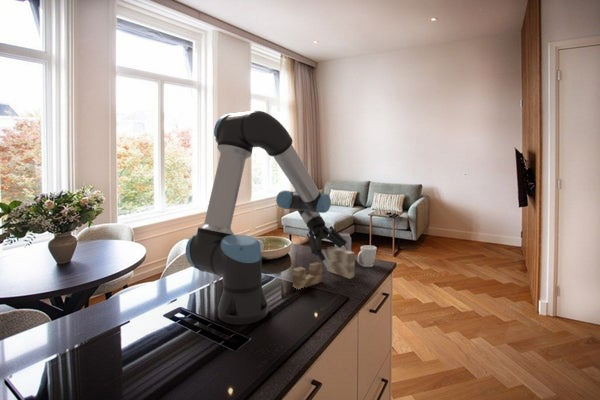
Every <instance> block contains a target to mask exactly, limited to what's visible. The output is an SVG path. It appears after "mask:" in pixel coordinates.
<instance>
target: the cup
mask: <svg viewBox="0 0 600 400" xmlns="http://www.w3.org/2000/svg"><path fill="white" fill-rule="evenodd" d="M377 250H378V247H377V246H375V245H369V244H368V245H367V244H366V245H362V246H360V251H359V252H358V254H357V259H356V260H357V263H358V265H360V266H362V267H363V268H364V267H366V268H371V267H373V266H374V263H375V260H376V253H377ZM360 256H361V260H362V263H361V262H360Z"/></svg>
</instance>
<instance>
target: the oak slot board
mask: <svg viewBox="0 0 600 400" xmlns="http://www.w3.org/2000/svg"><path fill="white" fill-rule="evenodd" d="M308 270H309V271H308V272H309V273H308V274H307V268H305V267H302V266H298V267H295V268H292V288H293V287H294V288H293V289H295V288H296V289H295V290H297V289H298V290H297V291H299V289H300V290H302V289H301V288H303V289H305V288H308V287H312V286H314V285H317V284H319V283H322V282H323V263H321V262H317V261H314V262H312V263H309V268H308ZM304 287H305V288H304Z"/></svg>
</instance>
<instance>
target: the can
mask: <svg viewBox="0 0 600 400" xmlns="http://www.w3.org/2000/svg"><path fill="white" fill-rule="evenodd" d="M337 233H338V234H339V235H340V236H341V237H342V238H343V239H344V240H345V241H346V242H347V243H346V244H345V247H346V248H347V250H348V251H351V252H352V237H351V236H350V235H351V234H350V233H347V232H337ZM340 245H341V244H340ZM334 247H337V248H340V247H338V246H337V245H335V244H334Z"/></svg>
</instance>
